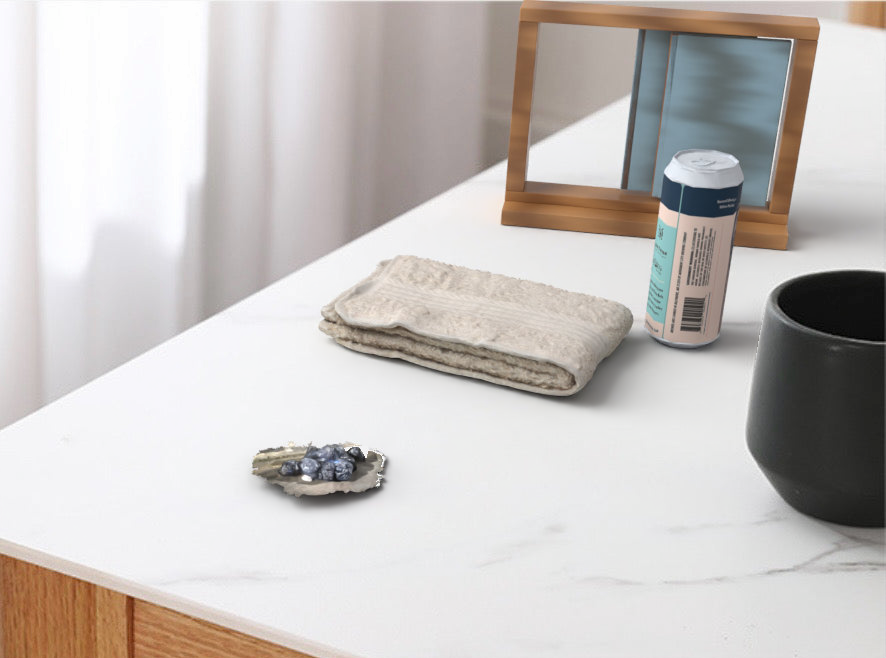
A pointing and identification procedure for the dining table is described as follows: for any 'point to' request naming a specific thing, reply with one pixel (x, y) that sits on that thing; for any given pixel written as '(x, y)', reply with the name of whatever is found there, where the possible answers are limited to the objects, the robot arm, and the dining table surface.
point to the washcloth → (478, 324)
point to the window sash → (646, 108)
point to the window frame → (681, 117)
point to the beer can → (693, 247)
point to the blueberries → (318, 468)
